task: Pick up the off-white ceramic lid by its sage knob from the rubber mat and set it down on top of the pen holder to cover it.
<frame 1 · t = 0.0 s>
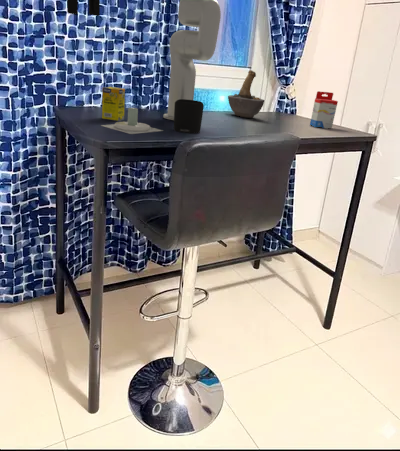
hand: (83, 14, 117), 31 cm above the table, fingers open, 9 cm apart
lid: (132, 128, 132), point 1 cm above the table, touching mat
ink box: (320, 127, 182), on the table
mat: (132, 129, 132), on the table
supplement box: (113, 121, 144), on the table
mortar and pestle: (243, 117, 188), on the table
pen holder: (186, 133, 138), on the table
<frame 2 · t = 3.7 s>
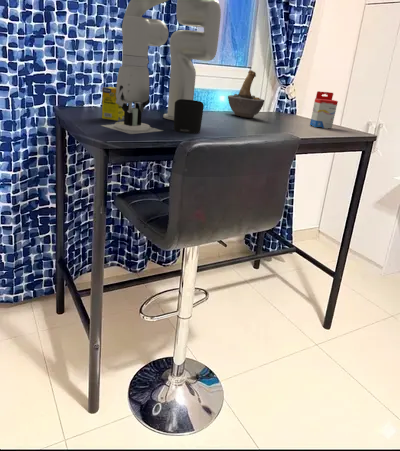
hand: (132, 124, 131), 2 cm above the table, fingers closed on lid, 3 cm apart
lid: (132, 127, 132), point 1 cm above the table, touching gripper, mat
everything else where it was.
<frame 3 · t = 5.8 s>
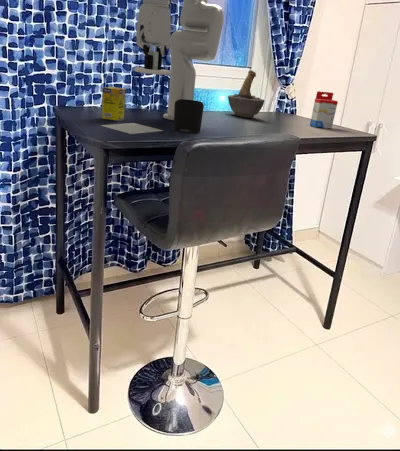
hand: (152, 68, 127), 19 cm above the table, fingers closed on lid, 3 cm apart
lid: (152, 72, 127), point 18 cm above the table, touching gripper
everything else where it was.
when the fingers open (13 cm above the table, at t = 8.2 s): lid drops 2 cm, resting on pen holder.
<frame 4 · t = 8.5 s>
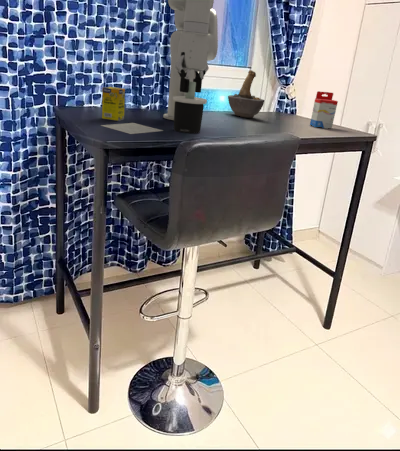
hand: (190, 91, 133), 13 cm above the table, fingers open, 5 cm apart
lid: (189, 101, 134), point 10 cm above the table, touching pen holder
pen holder: (186, 133, 138), on the table, touching lid
everything else where it was.
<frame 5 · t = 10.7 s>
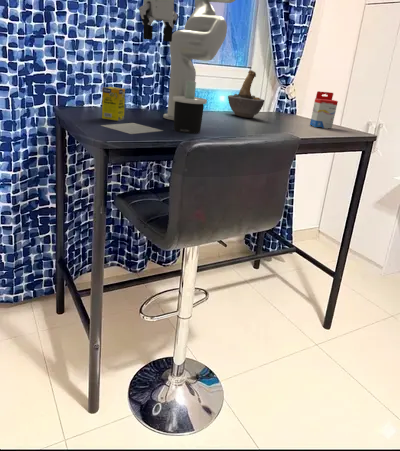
hand: (157, 40, 133), 27 cm above the table, fingers open, 9 cm apart
nothing on the table moved.
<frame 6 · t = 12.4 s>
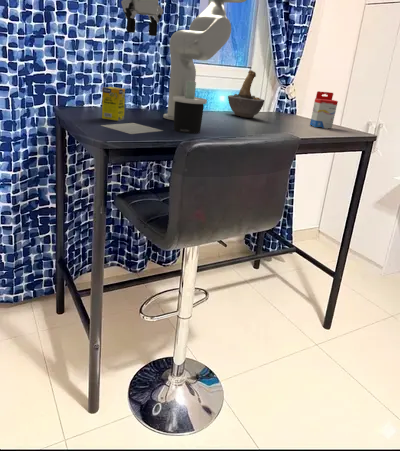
hand: (141, 34, 135), 28 cm above the table, fingers open, 9 cm apart
nothing on the table moved.
at the end: lid 0.0 cm from the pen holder (horizontally); lid point 9.9 cm above the table; lid tilted 0° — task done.
